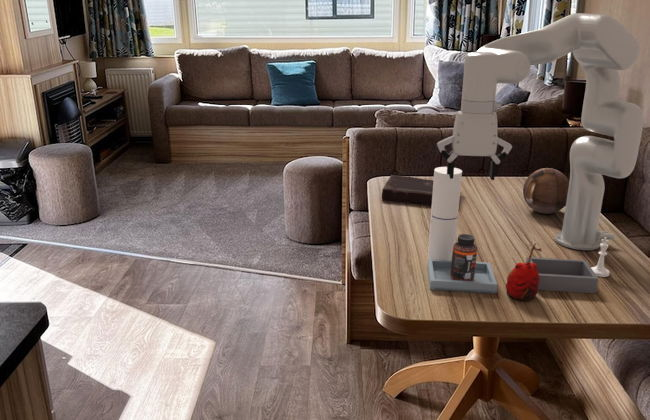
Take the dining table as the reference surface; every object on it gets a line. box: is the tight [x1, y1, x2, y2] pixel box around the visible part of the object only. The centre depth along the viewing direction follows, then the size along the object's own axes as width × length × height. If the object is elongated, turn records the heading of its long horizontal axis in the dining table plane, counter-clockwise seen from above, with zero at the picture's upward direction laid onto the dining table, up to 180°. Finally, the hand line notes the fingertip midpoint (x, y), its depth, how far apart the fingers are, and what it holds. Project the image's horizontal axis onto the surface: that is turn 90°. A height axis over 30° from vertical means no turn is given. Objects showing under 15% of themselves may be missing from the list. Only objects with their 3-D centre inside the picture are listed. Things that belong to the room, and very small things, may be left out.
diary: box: [381, 174, 434, 207], centre depth 224 cm, size 19×25×5 cm
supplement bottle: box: [451, 233, 478, 281], centre depth 159 cm, size 6×6×11 cm
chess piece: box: [590, 237, 610, 278], centre depth 165 cm, size 5×5×10 cm
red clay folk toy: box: [505, 243, 543, 302], centre depth 151 cm, size 8×7×15 cm
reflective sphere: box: [522, 167, 570, 215], centre depth 209 cm, size 15×15×15 cm
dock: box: [525, 256, 599, 294], centre depth 161 cm, size 15×11×4 cm
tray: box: [427, 258, 498, 295], centre depth 161 cm, size 16×13×2 cm
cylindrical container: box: [427, 166, 463, 260], centre depth 170 cm, size 7×7×25 cm
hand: (471, 177), depth 152 cm, fingers open, 9 cm apart
